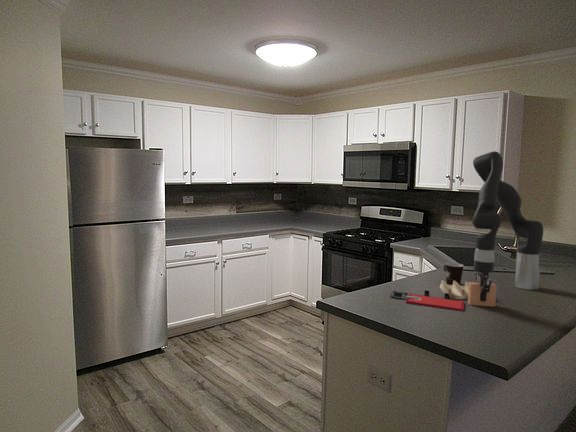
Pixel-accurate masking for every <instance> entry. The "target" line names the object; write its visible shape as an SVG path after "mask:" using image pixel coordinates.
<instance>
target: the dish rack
mask: <svg viewBox="0 0 576 432" xmlns="http://www.w3.org/2000/svg"><path fill="white" fill-rule="evenodd" d="M469 282H470V281H468V280H467V281H466V280H465V281H464V285H461V284H460V285H459V284H458V283H457V282H456V281H453V285H448V284H446V280H443V279H441V281H440V284H439V289H440V290H441V291H442V293H444V295H445V293H448V294H449V299H451V300H467V301H468V292H469Z"/></svg>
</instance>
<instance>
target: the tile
mask: <svg viewBox="0 0 576 432" xmlns="http://www.w3.org/2000/svg"><path fill="white" fill-rule="evenodd" d="M468 282H469V292H468V300H467V303H468V304H469V306H481V307H496V302H497V286H498V285H497V284H495V283H492V282H491V286H490V290H489V293H487V296H486V301H485V302H484V301H480V293H481V292H480V289H481V287H480V286H479V283H476V282H472V281H471V282H470V281H468ZM482 285H483V284H482ZM485 289H486V288H485Z"/></svg>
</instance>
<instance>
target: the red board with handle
mask: <svg viewBox="0 0 576 432" xmlns="http://www.w3.org/2000/svg"><path fill="white" fill-rule="evenodd" d="M423 294H424V295H423ZM423 294H422V295H421V294H416V293H415V294H414V293H409V294H408V292H403V291H402V292H401V291H395V290H393V291H392V293H391V294H390V297H391V298H392V297H393V298H398V299H405V300H406V301H405V303H406V304H408V303H411V304H410V305H415V304H417V306H422V305H423V306H424V307H429V306H430V308H436V307H437V308H438V309H444V310H445V309H446V310H453V311H460V312H464V310H465V301H464V300H459V299H449V294H448V293H445V294H444V297H435V296H430V290H424V293H423ZM423 306H422V307H423Z"/></svg>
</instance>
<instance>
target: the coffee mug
mask: <svg viewBox="0 0 576 432" xmlns="http://www.w3.org/2000/svg"><path fill="white" fill-rule="evenodd" d="M464 266H465V265H464V264H462V263H457V262H446V263H444V265H443V271H444V272H445V283H446V284H447V285H453V281H456V282H457V283H458V284H459V285H460V286H461V282H462V277H463V273H464Z"/></svg>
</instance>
